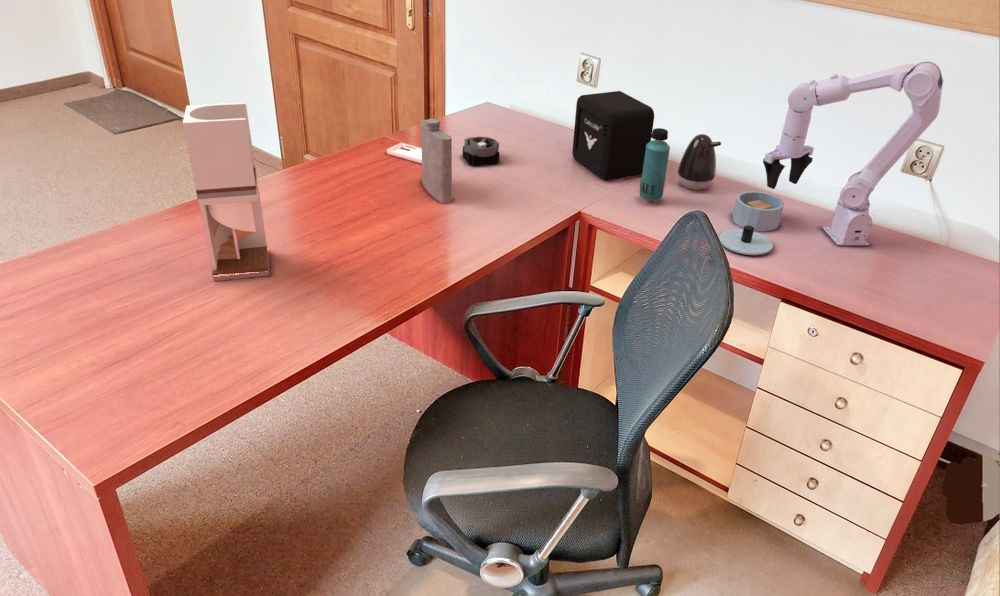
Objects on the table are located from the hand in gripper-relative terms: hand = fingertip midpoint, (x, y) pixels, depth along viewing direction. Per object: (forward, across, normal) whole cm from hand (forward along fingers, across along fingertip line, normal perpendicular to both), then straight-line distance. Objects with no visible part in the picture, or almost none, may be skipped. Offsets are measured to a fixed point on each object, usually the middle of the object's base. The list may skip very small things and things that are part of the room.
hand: (781, 184), depth 194 cm
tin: (+9, +6, 0) cm, 11 cm away
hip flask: (+9, +75, -50) cm, 90 cm away
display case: (+9, +130, -30) cm, 134 cm away
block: (+9, +6, 0) cm, 11 cm away
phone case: (+9, +70, -77) cm, 104 cm away
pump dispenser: (+9, +6, -25) cm, 27 cm away
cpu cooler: (+9, +53, -66) cm, 85 cm away
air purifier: (+9, +22, -46) cm, 52 cm away
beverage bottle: (+9, +24, -22) cm, 34 cm away
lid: (+9, +18, +8) cm, 22 cm away
